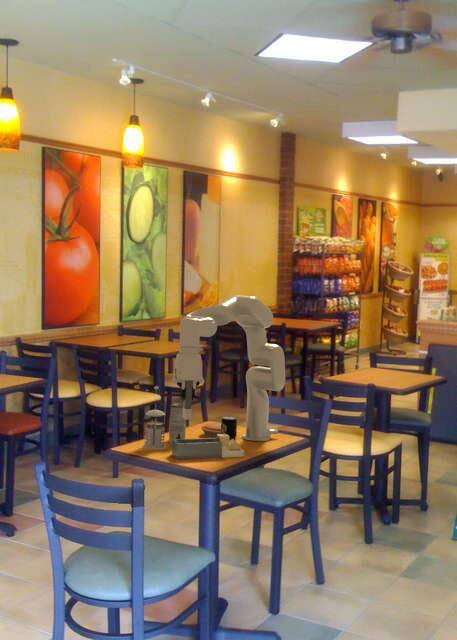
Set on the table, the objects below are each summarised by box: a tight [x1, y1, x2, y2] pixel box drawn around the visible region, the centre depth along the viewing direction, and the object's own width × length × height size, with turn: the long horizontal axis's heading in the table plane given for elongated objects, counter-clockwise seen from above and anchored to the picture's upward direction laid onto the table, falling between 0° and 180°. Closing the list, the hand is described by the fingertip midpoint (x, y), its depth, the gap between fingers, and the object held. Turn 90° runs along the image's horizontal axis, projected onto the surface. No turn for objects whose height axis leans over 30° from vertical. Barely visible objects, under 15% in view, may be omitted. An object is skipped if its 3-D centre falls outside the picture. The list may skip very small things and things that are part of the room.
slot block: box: [171, 437, 222, 460], centre depth 302 cm, size 18×8×6 cm, turn 109°
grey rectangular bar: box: [182, 380, 193, 421], centre depth 291 cm, size 2×4×16 cm, turn 19°
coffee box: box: [168, 401, 187, 445], centre depth 325 cm, size 9×6×16 cm
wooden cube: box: [226, 439, 242, 451], centre depth 307 cm, size 4×4×4 cm
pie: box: [200, 422, 221, 438], centre depth 340 cm, size 15×16×5 cm
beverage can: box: [220, 415, 238, 441], centre depth 321 cm, size 7×7×12 cm
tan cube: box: [216, 434, 230, 446], centre depth 305 cm, size 4×4×4 cm
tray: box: [221, 446, 245, 459], centre depth 307 cm, size 9×11×2 cm
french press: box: [142, 385, 167, 451], centre depth 313 cm, size 10×12×25 cm
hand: (187, 398), depth 291 cm, fingers closed on grey rectangular bar, 2 cm apart
